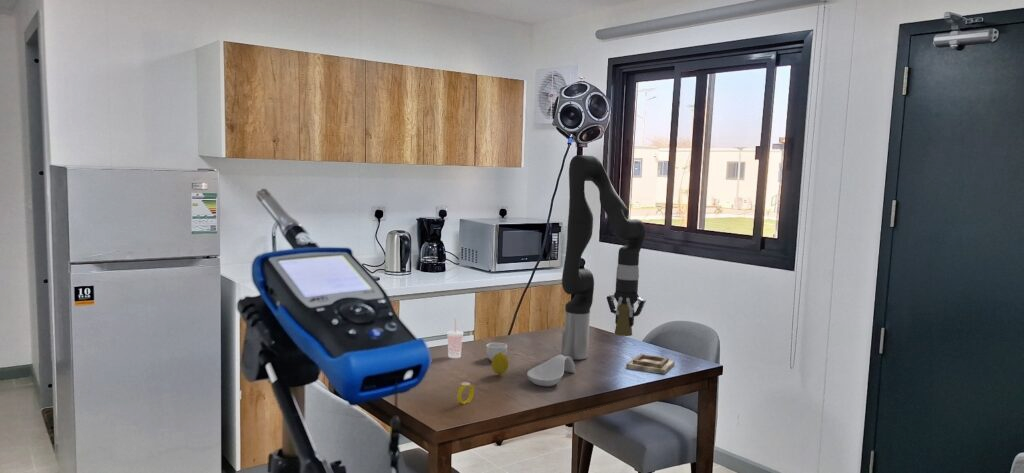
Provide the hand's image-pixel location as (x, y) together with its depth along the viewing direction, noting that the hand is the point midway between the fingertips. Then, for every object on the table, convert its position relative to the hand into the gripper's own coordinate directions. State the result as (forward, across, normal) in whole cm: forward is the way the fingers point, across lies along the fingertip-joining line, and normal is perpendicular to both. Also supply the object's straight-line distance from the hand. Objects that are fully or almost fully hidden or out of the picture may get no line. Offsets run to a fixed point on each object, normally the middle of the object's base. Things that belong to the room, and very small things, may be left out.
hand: (624, 326), depth 241 cm
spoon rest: (+17, -18, -19) cm, 31 cm away
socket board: (+17, +6, +15) cm, 23 cm away
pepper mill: (+3, 0, 0) cm, 3 cm away
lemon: (+17, -35, -25) cm, 46 cm away
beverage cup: (+18, -60, -13) cm, 64 cm away
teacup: (+17, -45, -7) cm, 49 cm away
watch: (+17, -31, -55) cm, 65 cm away
